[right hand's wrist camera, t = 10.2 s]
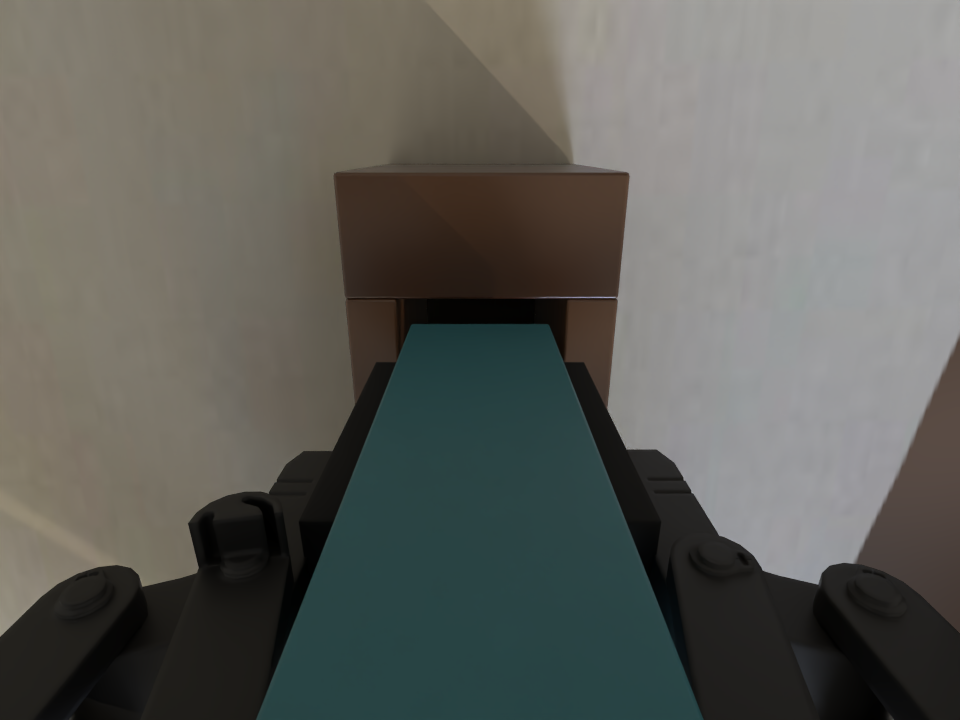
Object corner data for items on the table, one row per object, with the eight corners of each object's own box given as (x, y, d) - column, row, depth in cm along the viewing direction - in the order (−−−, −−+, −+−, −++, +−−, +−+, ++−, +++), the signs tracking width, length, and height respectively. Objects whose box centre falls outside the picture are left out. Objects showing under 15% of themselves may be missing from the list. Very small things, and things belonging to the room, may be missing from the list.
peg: (410, 323, 15) (29, 1276, 2) (549, 323, 15) (930, 1276, 2) (416, 444, 17) (200, 1448, 4) (543, 444, 17) (758, 1443, 4)
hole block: (386, 163, 23) (332, 172, 14) (575, 164, 23) (630, 172, 14) (415, 648, 33) (393, 818, 25) (545, 648, 33) (568, 818, 25)
